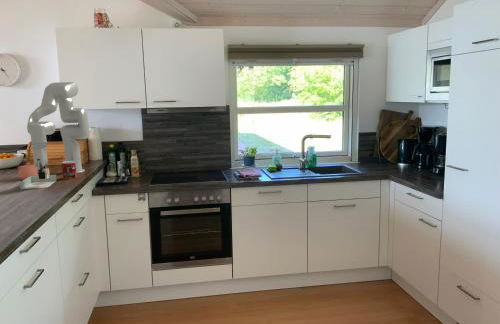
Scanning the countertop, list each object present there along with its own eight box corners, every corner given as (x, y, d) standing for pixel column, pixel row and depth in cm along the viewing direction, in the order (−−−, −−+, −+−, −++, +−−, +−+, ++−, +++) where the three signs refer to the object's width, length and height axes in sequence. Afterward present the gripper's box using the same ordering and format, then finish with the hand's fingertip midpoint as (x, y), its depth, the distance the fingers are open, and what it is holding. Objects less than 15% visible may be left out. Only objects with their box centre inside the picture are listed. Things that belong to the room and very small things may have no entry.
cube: (40, 177, 232) (39, 168, 231) (49, 176, 233) (48, 168, 232) (37, 179, 228) (36, 170, 227) (47, 178, 229) (46, 170, 228)
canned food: (62, 181, 247) (60, 163, 245) (64, 178, 254) (62, 161, 252) (76, 180, 249) (74, 162, 247) (77, 177, 256) (76, 160, 254)
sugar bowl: (31, 181, 249) (29, 164, 247) (11, 181, 252) (9, 164, 250) (45, 177, 261) (43, 161, 259) (26, 177, 264) (24, 161, 262)
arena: (30, 183, 243) (29, 176, 242) (56, 181, 245) (56, 174, 245) (20, 190, 225) (19, 182, 225) (48, 188, 228) (47, 180, 227)
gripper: (36, 143, 234) (40, 174, 238) (27, 148, 218) (31, 181, 222) (51, 143, 236) (54, 174, 239) (42, 147, 219) (46, 180, 223)
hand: (43, 177), depth 230 cm, fingers closed on cube, 5 cm apart
